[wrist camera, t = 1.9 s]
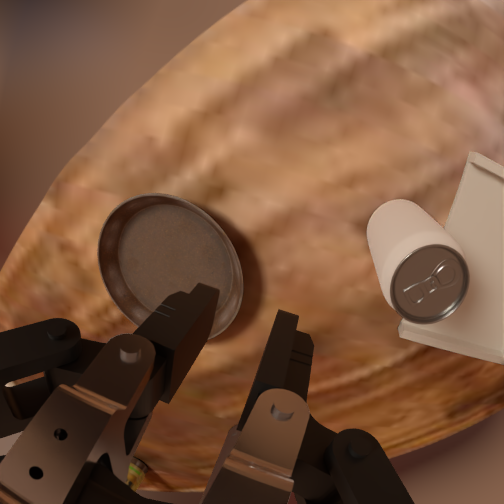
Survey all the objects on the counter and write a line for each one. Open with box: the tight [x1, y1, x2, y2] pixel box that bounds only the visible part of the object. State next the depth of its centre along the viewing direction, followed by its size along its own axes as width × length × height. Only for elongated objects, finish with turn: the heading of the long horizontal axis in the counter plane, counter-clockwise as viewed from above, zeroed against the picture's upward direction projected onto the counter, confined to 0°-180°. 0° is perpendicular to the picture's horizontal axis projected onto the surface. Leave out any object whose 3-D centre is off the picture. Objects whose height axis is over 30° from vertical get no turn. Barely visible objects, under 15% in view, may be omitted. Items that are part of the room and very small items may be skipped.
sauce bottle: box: [125, 457, 148, 491], centre depth 48 cm, size 6×6×20 cm
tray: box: [398, 151, 504, 365], centre depth 27 cm, size 16×20×2 cm
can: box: [367, 199, 470, 325], centre depth 24 cm, size 6×6×12 cm
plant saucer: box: [98, 193, 243, 340], centre depth 35 cm, size 18×18×3 cm
